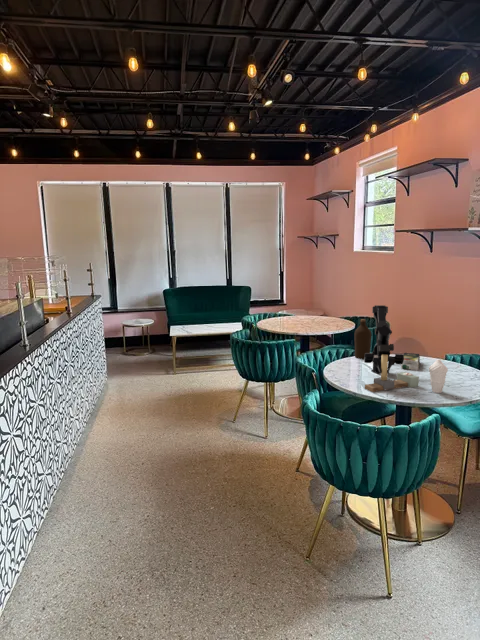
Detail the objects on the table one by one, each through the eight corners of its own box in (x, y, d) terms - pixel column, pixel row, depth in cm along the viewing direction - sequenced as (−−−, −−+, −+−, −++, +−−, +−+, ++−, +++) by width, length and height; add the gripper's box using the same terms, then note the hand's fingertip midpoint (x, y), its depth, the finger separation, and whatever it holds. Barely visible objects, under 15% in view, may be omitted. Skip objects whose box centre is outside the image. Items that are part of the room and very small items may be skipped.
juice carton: (419, 371, 240) (419, 360, 239) (400, 369, 244) (400, 359, 243) (419, 363, 258) (420, 353, 258) (402, 362, 262) (402, 352, 262)
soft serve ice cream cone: (445, 395, 198) (447, 362, 196) (426, 392, 202) (427, 360, 200) (447, 390, 205) (449, 358, 202) (429, 387, 209) (430, 356, 207)
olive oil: (363, 360, 267) (364, 321, 263) (350, 357, 276) (351, 319, 272) (374, 357, 273) (375, 319, 269) (361, 354, 282) (362, 317, 278)
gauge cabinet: (404, 381, 221) (404, 370, 221) (418, 386, 212) (418, 375, 211) (396, 382, 220) (397, 371, 219) (410, 387, 210) (410, 376, 210)
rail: (399, 383, 218) (399, 379, 218) (407, 386, 212) (407, 382, 212) (364, 388, 211) (364, 384, 210) (372, 392, 205) (372, 388, 205)
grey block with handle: (383, 383, 216) (384, 352, 213) (394, 387, 208) (395, 356, 206) (373, 384, 214) (374, 353, 211) (384, 389, 206) (385, 357, 204)
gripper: (365, 337, 213) (365, 364, 204) (404, 338, 209) (406, 365, 200) (364, 349, 222) (364, 375, 213) (401, 350, 217) (403, 377, 209)
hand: (384, 373), depth 208 cm, fingers closed on grey block with handle, 3 cm apart
